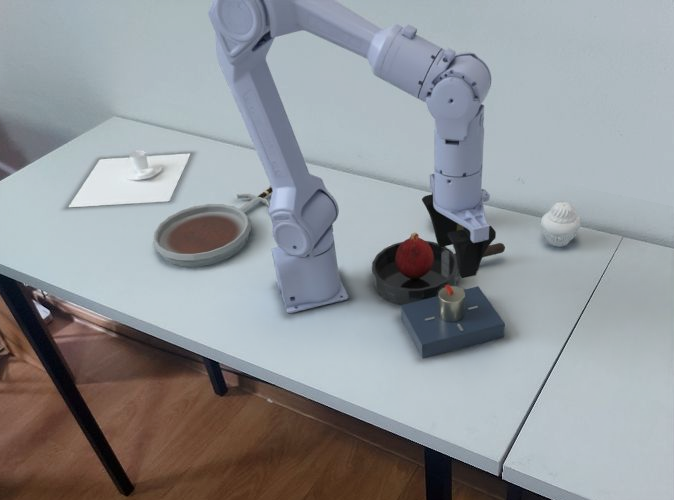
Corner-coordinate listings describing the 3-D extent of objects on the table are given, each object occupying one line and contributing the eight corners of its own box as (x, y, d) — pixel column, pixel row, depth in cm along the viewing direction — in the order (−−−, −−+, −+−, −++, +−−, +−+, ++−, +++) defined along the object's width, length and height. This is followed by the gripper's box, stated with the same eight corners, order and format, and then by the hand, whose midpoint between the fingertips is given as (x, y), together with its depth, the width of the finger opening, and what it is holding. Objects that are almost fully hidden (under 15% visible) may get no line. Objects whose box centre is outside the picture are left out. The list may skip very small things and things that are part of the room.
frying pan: (309, 189, 121) (200, 265, 104) (311, 203, 123) (204, 280, 106) (241, 169, 128) (129, 237, 112) (244, 183, 130) (135, 252, 114)
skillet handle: (453, 266, 102) (454, 258, 100) (450, 260, 103) (450, 252, 102) (506, 253, 103) (507, 245, 102) (502, 248, 104) (502, 240, 103)
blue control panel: (422, 358, 89) (421, 343, 87) (401, 318, 96) (400, 304, 94) (503, 336, 91) (505, 322, 89) (477, 299, 98) (478, 284, 96)
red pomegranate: (431, 291, 99) (430, 246, 94) (393, 288, 100) (391, 244, 95) (436, 268, 103) (435, 224, 98) (399, 266, 105) (397, 223, 99)
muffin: (585, 238, 107) (591, 200, 102) (565, 256, 104) (571, 218, 99) (551, 226, 110) (556, 189, 105) (531, 243, 107) (535, 205, 102)
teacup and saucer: (157, 182, 132) (151, 163, 129) (118, 184, 132) (111, 166, 130) (167, 162, 138) (161, 143, 136) (130, 164, 139) (124, 146, 136)
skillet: (388, 314, 96) (387, 298, 94) (363, 266, 106) (362, 251, 104) (470, 294, 99) (471, 278, 96) (439, 248, 108) (439, 233, 106)
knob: (468, 318, 91) (469, 296, 88) (444, 324, 90) (444, 302, 87) (458, 303, 93) (459, 281, 91) (434, 309, 93) (434, 287, 90)
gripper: (516, 186, 74) (508, 282, 83) (465, 135, 84) (463, 225, 94) (457, 199, 73) (456, 296, 82) (413, 145, 83) (416, 236, 93)
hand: (456, 259), depth 88 cm, fingers open, 7 cm apart
